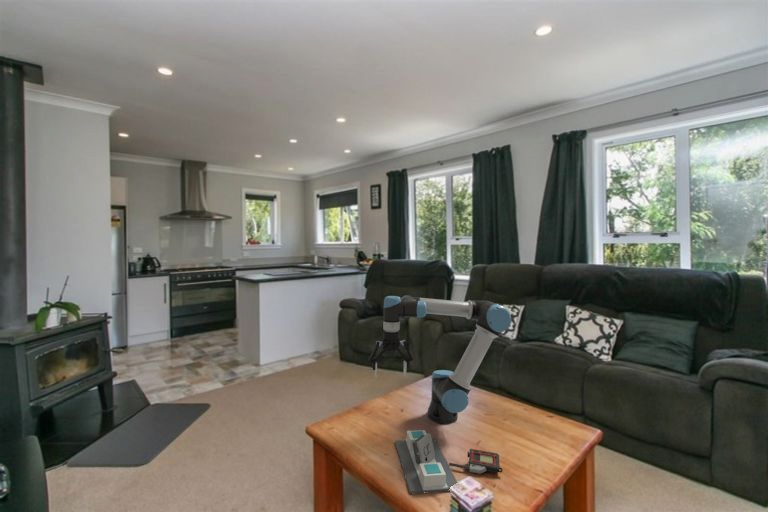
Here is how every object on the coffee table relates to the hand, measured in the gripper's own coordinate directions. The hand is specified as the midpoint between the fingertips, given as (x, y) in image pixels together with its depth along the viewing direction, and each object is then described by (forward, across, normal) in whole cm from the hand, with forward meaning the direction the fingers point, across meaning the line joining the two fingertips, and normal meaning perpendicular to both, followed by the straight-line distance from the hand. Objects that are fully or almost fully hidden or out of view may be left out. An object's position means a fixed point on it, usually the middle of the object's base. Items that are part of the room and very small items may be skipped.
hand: (390, 376), depth 162 cm
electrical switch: (+25, +10, -24) cm, 36 cm away
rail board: (+26, +10, -24) cm, 37 cm away
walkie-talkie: (+22, +29, -30) cm, 47 cm away
